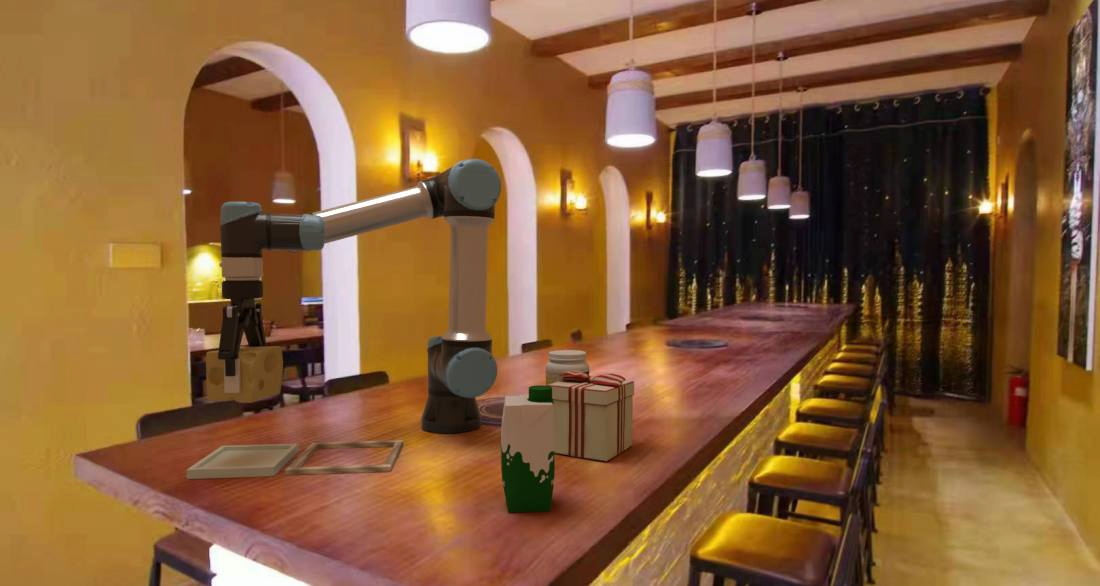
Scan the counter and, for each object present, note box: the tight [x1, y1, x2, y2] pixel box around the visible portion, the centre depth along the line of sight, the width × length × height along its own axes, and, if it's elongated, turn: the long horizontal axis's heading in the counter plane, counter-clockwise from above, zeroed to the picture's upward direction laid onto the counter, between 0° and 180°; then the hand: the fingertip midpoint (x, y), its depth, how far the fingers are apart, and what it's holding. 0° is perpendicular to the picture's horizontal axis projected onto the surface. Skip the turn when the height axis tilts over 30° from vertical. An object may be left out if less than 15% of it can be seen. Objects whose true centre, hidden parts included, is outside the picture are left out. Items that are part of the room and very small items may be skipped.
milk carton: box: [500, 384, 556, 513], centre depth 106 cm, size 9×9×20 cm
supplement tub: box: [545, 349, 590, 386], centre depth 172 cm, size 12×12×17 cm
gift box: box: [545, 370, 635, 462], centre depth 140 cm, size 17×18×17 cm
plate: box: [186, 443, 300, 480], centre depth 128 cm, size 16×16×2 cm
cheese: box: [205, 345, 284, 404], centre depth 127 cm, size 10×11×10 cm
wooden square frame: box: [284, 439, 404, 476], centre depth 132 cm, size 20×19×1 cm
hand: (244, 386), depth 127 cm, fingers closed on cheese, 11 cm apart
